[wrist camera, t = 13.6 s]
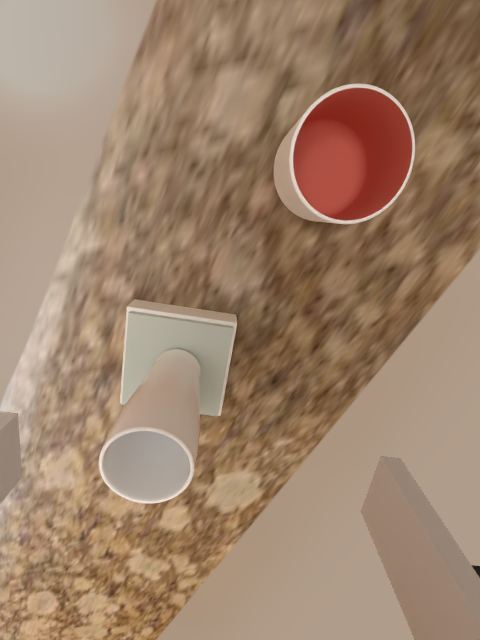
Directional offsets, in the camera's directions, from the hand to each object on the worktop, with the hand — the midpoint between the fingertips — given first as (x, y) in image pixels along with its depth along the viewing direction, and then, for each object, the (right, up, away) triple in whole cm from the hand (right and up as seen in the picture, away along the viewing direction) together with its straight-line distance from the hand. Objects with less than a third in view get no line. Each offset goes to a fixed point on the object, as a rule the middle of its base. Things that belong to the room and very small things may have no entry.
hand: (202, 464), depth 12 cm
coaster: (-6, +1, +29) cm, 30 cm away
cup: (+10, +21, +23) cm, 33 cm away
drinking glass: (-6, 0, +25) cm, 26 cm away
